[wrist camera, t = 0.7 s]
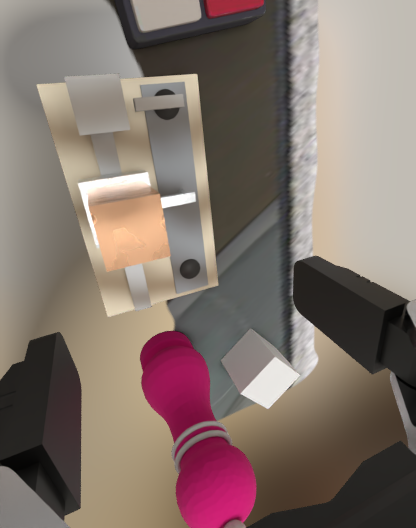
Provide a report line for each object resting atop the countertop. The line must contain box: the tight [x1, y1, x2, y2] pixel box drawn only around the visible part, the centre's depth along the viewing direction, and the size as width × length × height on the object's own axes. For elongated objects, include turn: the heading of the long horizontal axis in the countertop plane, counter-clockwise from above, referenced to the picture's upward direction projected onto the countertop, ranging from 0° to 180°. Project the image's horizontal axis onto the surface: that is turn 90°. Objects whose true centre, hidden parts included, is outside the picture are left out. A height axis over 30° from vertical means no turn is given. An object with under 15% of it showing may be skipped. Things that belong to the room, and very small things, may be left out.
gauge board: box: [37, 73, 218, 317], centre depth 25 cm, size 20×12×8 cm, turn 6°
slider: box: [78, 170, 196, 272], centre depth 21 cm, size 5×8×8 cm, turn 96°
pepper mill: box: [140, 331, 256, 528], centre depth 27 cm, size 7×7×20 cm
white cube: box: [221, 328, 300, 409], centre depth 38 cm, size 6×6×6 cm
